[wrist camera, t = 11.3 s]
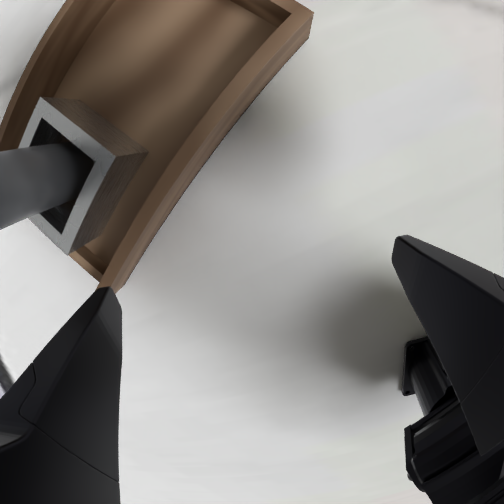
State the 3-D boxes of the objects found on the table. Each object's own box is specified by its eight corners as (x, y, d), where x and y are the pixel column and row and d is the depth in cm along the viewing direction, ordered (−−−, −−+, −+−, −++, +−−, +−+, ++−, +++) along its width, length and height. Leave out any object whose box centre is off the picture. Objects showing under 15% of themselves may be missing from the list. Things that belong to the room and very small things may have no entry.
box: (308, 38, 16) (313, 12, 12) (124, 284, 24) (97, 312, 20) (149, -43, 14) (124, -68, 10) (14, 183, 22) (-20, 194, 18)
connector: (118, 173, 20) (-32, 225, 8) (84, 203, 21) (-52, 268, 9) (93, 129, 19) (-59, 146, 7) (61, 161, 20) (-79, 199, 8)
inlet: (149, 151, 19) (115, 156, 15) (101, 235, 22) (67, 255, 18) (79, 99, 18) (40, 96, 14) (41, 180, 21) (3, 191, 17)
